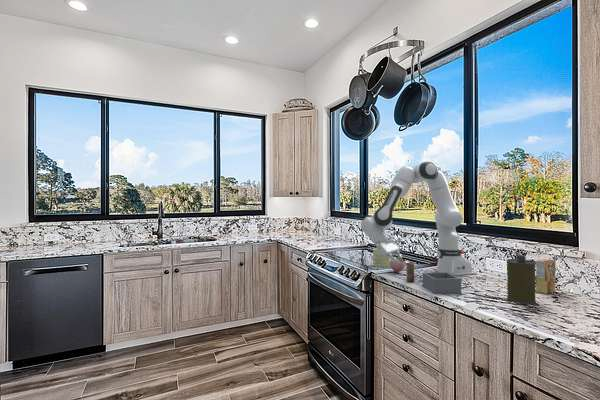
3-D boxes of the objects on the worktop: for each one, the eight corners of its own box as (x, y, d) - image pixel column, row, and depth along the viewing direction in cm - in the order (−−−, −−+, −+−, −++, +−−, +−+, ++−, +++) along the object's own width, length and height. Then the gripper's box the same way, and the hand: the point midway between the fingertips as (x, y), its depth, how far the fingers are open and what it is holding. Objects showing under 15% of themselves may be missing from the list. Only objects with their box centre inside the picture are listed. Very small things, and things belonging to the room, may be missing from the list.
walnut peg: (412, 280, 171) (412, 262, 171) (415, 282, 167) (415, 264, 167) (405, 280, 170) (405, 262, 170) (408, 282, 166) (408, 264, 166)
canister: (537, 305, 129) (537, 258, 129) (507, 301, 134) (507, 256, 134) (534, 298, 138) (534, 254, 138) (506, 295, 143) (506, 252, 143)
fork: (425, 269, 200) (425, 266, 200) (404, 263, 218) (404, 260, 218) (429, 269, 201) (429, 266, 201) (407, 262, 219) (407, 260, 219)
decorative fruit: (386, 272, 190) (386, 256, 190) (393, 270, 196) (393, 254, 196) (400, 274, 183) (400, 258, 183) (407, 272, 189) (407, 256, 189)
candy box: (545, 289, 152) (545, 258, 152) (556, 291, 148) (555, 259, 148) (535, 291, 148) (535, 260, 148) (546, 294, 144) (545, 261, 144)
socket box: (447, 285, 160) (447, 272, 160) (461, 293, 147) (461, 278, 147) (422, 286, 159) (422, 272, 159) (434, 293, 146) (434, 279, 146)
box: (388, 265, 211) (388, 248, 211) (389, 267, 205) (389, 249, 205) (372, 265, 212) (372, 248, 212) (374, 266, 206) (373, 249, 206)
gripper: (377, 239, 169) (395, 258, 163) (391, 235, 185) (408, 253, 179) (370, 246, 172) (387, 266, 166) (384, 242, 188) (400, 259, 182)
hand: (398, 259), depth 173 cm, fingers open, 8 cm apart
